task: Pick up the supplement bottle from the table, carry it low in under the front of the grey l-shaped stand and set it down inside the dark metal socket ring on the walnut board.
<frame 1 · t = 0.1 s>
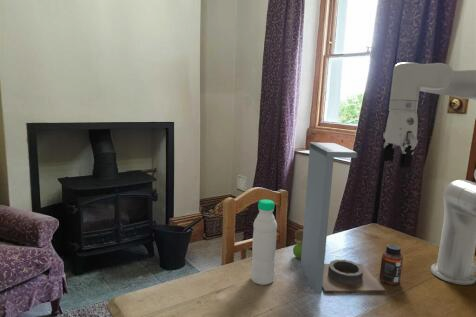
hand: (395, 163, 106), 37 cm above the table, tool pointing down, fingers open, 9 cm apart
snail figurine: (301, 258, 123), on the table
grey l-shaped stand: (310, 279, 109), on the table
socket: (344, 279, 110), on the table
water bottle: (262, 280, 107), on the table
supplement bottle: (389, 281, 110), on the table
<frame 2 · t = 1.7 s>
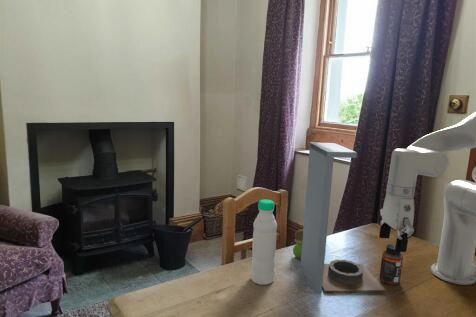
hand: (391, 244, 107), 12 cm above the table, tool pointing down, fingers open, 9 cm apart
nothing on the table moved.
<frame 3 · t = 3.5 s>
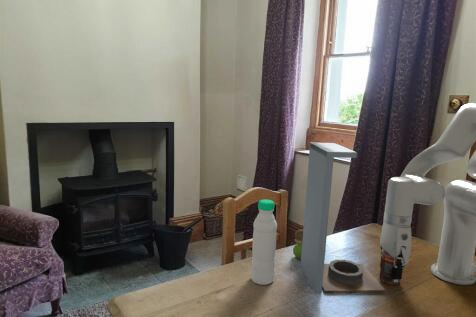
hand: (390, 272, 109), 3 cm above the table, tool pointing down, fingers closed on supplement bottle, 6 cm apart
supplement bottle: (389, 281, 110), on the table, touching gripper
everything else where it was.
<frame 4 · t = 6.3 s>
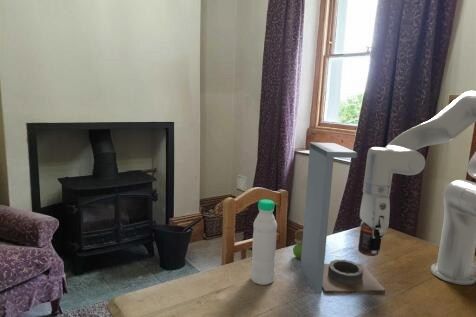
hand: (369, 244, 108), 11 cm above the table, tool pointing down, fingers closed on supplement bottle, 6 cm apart
supplement bottle: (367, 253, 109), point 9 cm above the table, touching gripper
everything else where it was.
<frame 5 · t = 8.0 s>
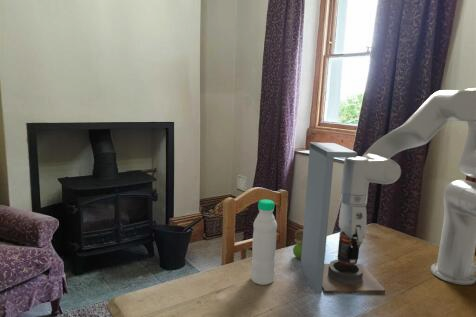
hand: (348, 253, 108), 9 cm above the table, tool pointing down, fingers closed on supplement bottle, 6 cm apart
supplement bottle: (347, 262, 109), point 6 cm above the table, touching gripper
everything else where it was.
when the fingers open (5 cm above the table, at t = 9.3 s): supplement bottle drops 1 cm, resting on socket.
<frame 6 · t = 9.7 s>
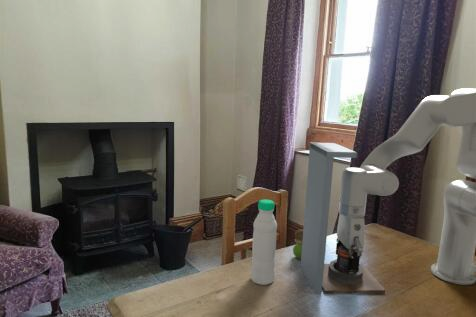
hand: (346, 261, 109), 6 cm above the table, tool pointing down, fingers open, 9 cm apart
supplement bottle: (345, 276, 110), point 1 cm above the table, touching socket
everything else where it was.
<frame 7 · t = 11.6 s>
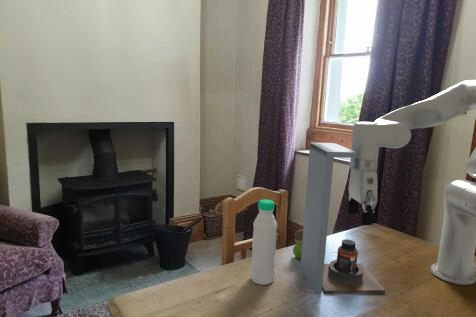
hand: (359, 218, 107), 19 cm above the table, tool pointing down, fingers open, 9 cm apart
nothing on the table moved.
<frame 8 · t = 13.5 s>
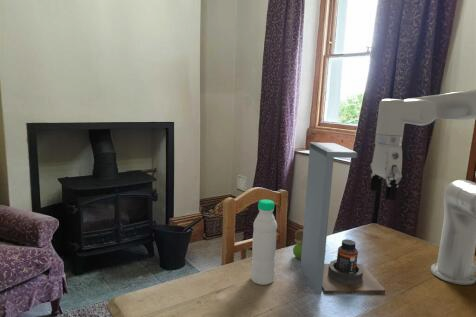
hand: (382, 194, 110), 26 cm above the table, tool pointing down, fingers open, 9 cm apart
nothing on the table moved.
at the end: supplement bottle 0.3 cm off-centre on the socket, point 0.8 cm above the socket's base; supplement bottle tilted 0°; the gripper is holding nothing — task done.
